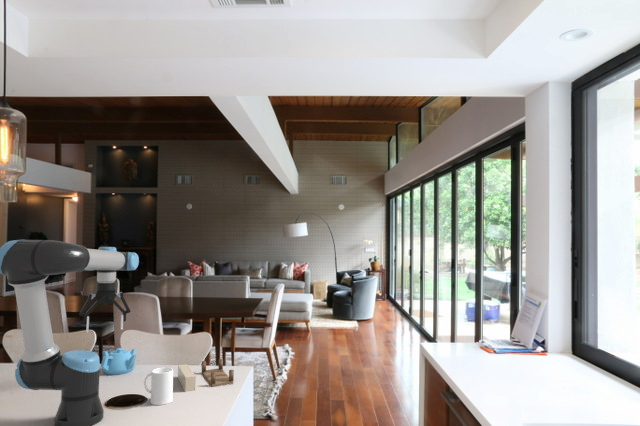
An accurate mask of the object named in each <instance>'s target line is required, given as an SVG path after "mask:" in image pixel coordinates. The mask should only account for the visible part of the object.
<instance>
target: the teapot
mask: <svg viewBox="0 0 640 426" xmlns="http://www.w3.org/2000/svg"><path fill="white" fill-rule="evenodd" d="M136 352H137V348H132V349H131V351H129V350H127V349H125V350H124V348H122V347H118V348H116V349H115V350H114V351H110V352H108V351H107V350H104V351H102V355H103V357H102V360H101V363H100V368H101V369H102V370H103V371H102V372H104V373H105V374H106V375H110V376H112V375H113V376H117V375H118V376H119V375H123V374H124V375H125V374H128V373H130V372H132V371H133V369H134V368H135V366H136V364H135V363H136V362H135V361H136V357H137V355H136Z"/></svg>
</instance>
